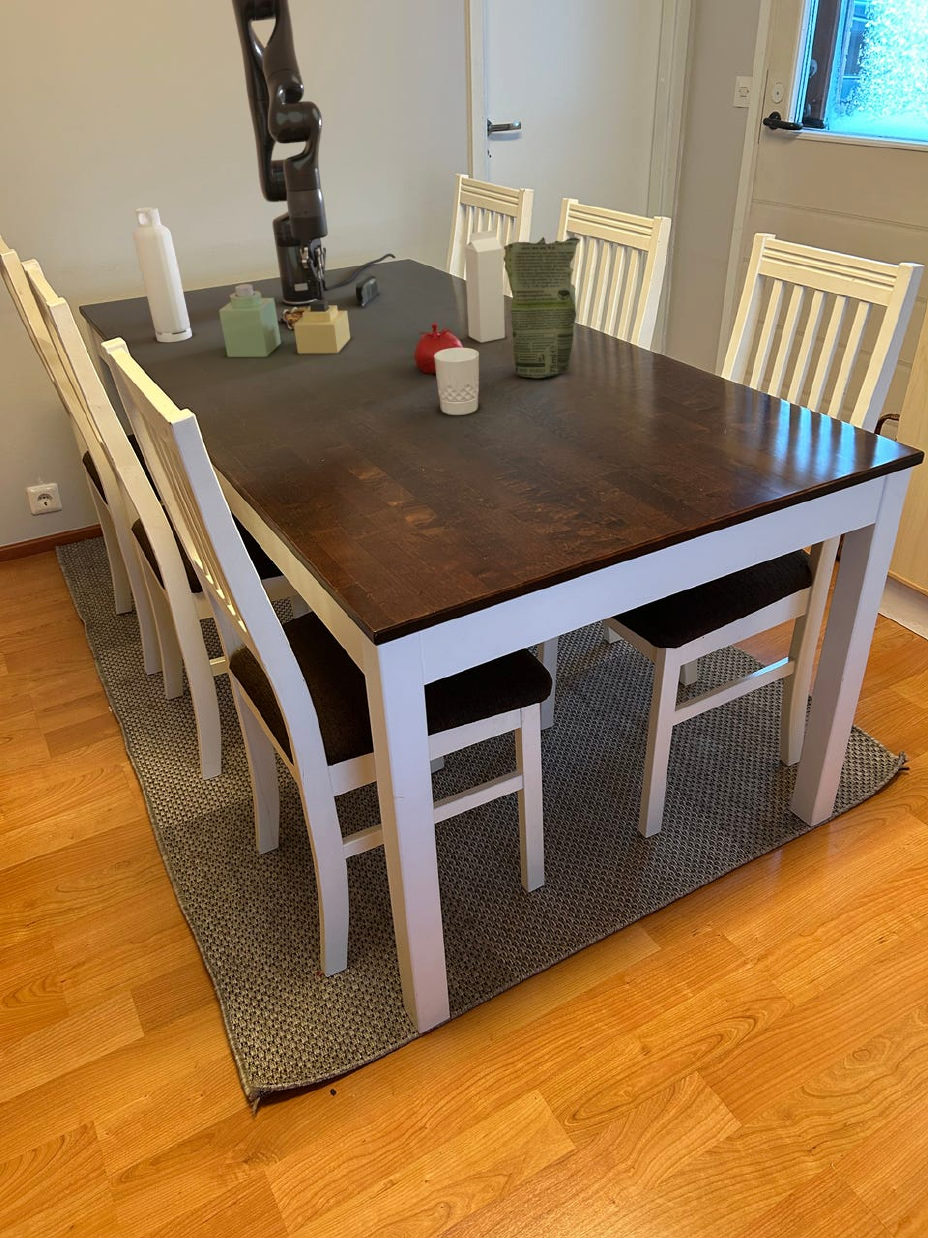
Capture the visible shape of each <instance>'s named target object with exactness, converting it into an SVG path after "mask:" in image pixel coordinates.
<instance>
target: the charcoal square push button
mask: <svg viewBox="0 0 928 1238" xmlns="http://www.w3.org/2000/svg"><path fill="white" fill-rule="evenodd" d="M329 306H330V305H329V300H328V299H321V300H314V301H313V302H312V303H310V304H309V307H310V310H311V312H326V311H327V310H328V309H329Z"/></svg>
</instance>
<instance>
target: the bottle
mask: <svg viewBox="0 0 928 1238" xmlns="http://www.w3.org/2000/svg"><path fill="white" fill-rule="evenodd" d="M134 211H135V214H136V220H137V224H138V227H137V228H136V229H135V231H133V236H132V237H133V241H134V245H135V250H136V255H137V258H138V262H139V267H140V271H141V277H142V280H143V286H144V290H145V293H146V298H147V302H148V307H149V311H150V315H151V319H152V324H153V328H154V330H155V332H154V333H155V336H156V340H157V342H160V343H176V342H183V341H186V340H187V339H190V338H192V337H193V333H192V327H190V325H191V322H190V318H189V314H188V309H187V303H186V299H185V295H184V290H183V284H182V279H181V274H180V271H179V270H180V269H179V265H178V260H177V256H176V252H175V251H176V250H175V246H174V241H173V237H172V232H171V231H170V229H169V228H168V227H167V226H165V225H163V224H162V222H161V218H160V212H159V208H158V207H157V206H147V207H139V208H136V209H135V210H134ZM146 214H148V216H146Z"/></svg>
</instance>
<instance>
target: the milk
mask: <svg viewBox="0 0 928 1238" xmlns="http://www.w3.org/2000/svg"><path fill="white" fill-rule="evenodd" d="M496 234H497V233H496V230H495V229H491V230H485V231H484V230H483V231H478V232H471V233H470V235H469V242H468V243H467V244H466V245H465V246H464V259H465V260H464V261H465V281H466V282H465V284H466V305H467V322H468V323H467V325H468V338H469V337H470V338H471V339H473V340H475V341H477V342H478V343H480V344H481V343H482V344H483V343H487V342H491V341H497V340H502V339H505V301H504V300H505V299H504V297H505V295H504V257H503V255H504V253H503V246H502V245H501V243H500V242H499V241H498V239H497V235H496Z"/></svg>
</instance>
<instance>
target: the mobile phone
mask: <svg viewBox="0 0 928 1238" xmlns="http://www.w3.org/2000/svg"><path fill="white" fill-rule="evenodd" d="M376 277H377V276H375V275H368V276H367V277H364V279H362V280H360V281H359V282H357V283H356V285H355V297H356V303H357V304H360V307H361V308H363V307H364V306H365V305H366V304H367V303H369V302H370V301H371V300H372V299H373V298H374V297H376V296H377V294H378V291H379V290H378V282H377V278H376Z"/></svg>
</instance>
